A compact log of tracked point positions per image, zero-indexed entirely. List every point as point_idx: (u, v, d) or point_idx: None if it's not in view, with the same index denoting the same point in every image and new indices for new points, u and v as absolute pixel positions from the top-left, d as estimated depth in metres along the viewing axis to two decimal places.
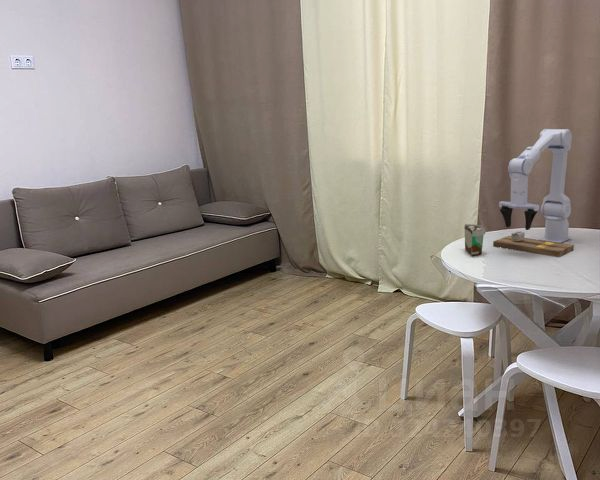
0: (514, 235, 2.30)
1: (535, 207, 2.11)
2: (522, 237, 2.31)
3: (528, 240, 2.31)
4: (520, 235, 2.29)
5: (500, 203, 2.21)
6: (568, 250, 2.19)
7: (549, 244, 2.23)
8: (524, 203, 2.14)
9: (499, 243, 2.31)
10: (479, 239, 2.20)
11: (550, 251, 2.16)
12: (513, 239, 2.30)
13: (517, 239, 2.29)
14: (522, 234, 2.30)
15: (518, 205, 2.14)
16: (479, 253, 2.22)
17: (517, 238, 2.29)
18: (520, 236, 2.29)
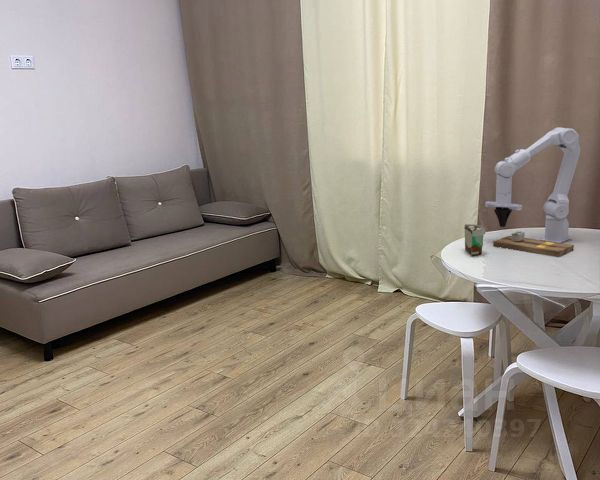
0: (514, 235, 2.30)
1: (518, 207, 2.27)
2: (522, 237, 2.31)
3: (528, 240, 2.31)
4: (520, 235, 2.29)
5: (486, 203, 2.37)
6: (568, 250, 2.19)
7: (549, 244, 2.23)
8: (508, 203, 2.30)
9: (499, 243, 2.31)
10: (479, 239, 2.20)
11: (550, 251, 2.16)
12: (513, 239, 2.30)
13: (517, 239, 2.29)
14: (522, 234, 2.30)
15: (502, 205, 2.30)
16: (479, 253, 2.22)
17: (517, 238, 2.29)
18: (520, 236, 2.29)
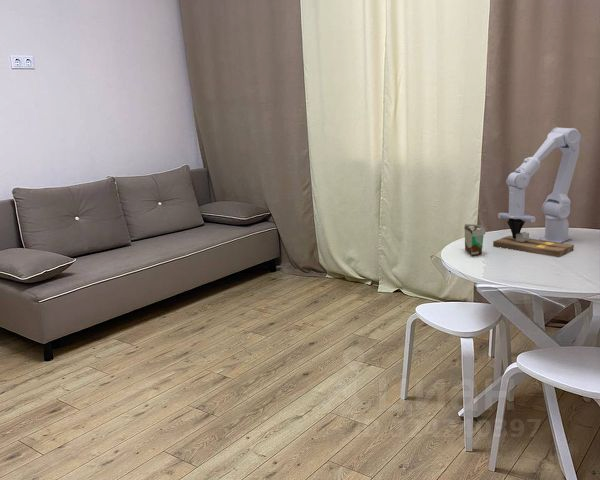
0: (519, 236, 2.28)
1: (532, 219, 2.24)
2: (527, 238, 2.29)
3: (528, 240, 2.31)
4: (524, 235, 2.28)
5: (499, 214, 2.34)
6: (568, 250, 2.19)
7: (549, 244, 2.23)
8: (521, 215, 2.27)
9: (499, 243, 2.31)
10: (479, 239, 2.20)
11: (550, 251, 2.16)
12: (518, 240, 2.29)
13: (522, 240, 2.28)
14: (527, 235, 2.29)
15: (516, 216, 2.27)
16: (479, 253, 2.22)
17: (521, 239, 2.28)
18: (524, 237, 2.28)
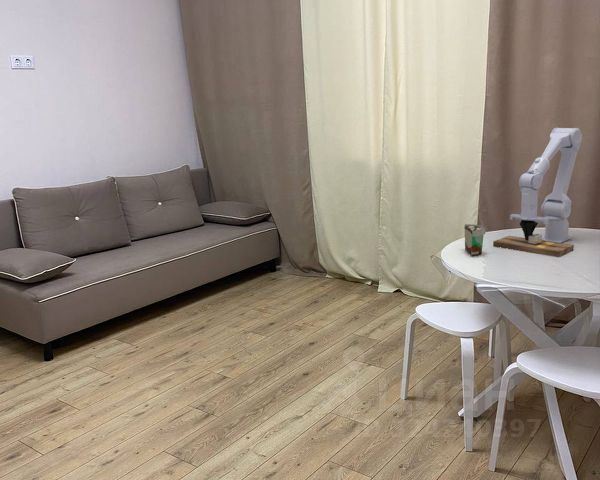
0: (531, 238, 2.25)
1: (545, 220, 2.21)
2: (539, 240, 2.25)
3: None
4: (537, 237, 2.24)
5: (511, 216, 2.30)
6: (568, 250, 2.19)
7: (549, 244, 2.23)
8: (534, 216, 2.23)
9: (499, 243, 2.31)
10: (479, 239, 2.20)
11: (550, 251, 2.16)
12: (530, 242, 2.25)
13: (534, 242, 2.24)
14: (539, 236, 2.25)
15: (528, 218, 2.23)
16: (479, 253, 2.22)
17: (534, 241, 2.24)
18: (537, 239, 2.24)
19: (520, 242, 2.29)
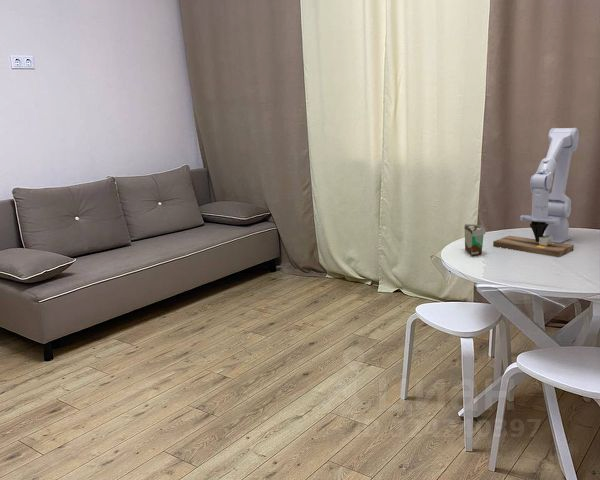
0: (542, 239, 2.22)
1: (556, 221, 2.17)
2: (550, 241, 2.22)
3: (528, 240, 2.31)
4: (548, 239, 2.21)
5: (521, 217, 2.27)
6: (568, 250, 2.19)
7: None
8: (545, 217, 2.20)
9: (499, 243, 2.31)
10: (479, 239, 2.20)
11: (550, 251, 2.16)
12: (541, 243, 2.22)
13: (545, 243, 2.21)
14: (550, 238, 2.22)
15: (539, 219, 2.20)
16: (479, 253, 2.22)
17: (545, 243, 2.21)
18: (548, 241, 2.21)
19: (520, 242, 2.29)
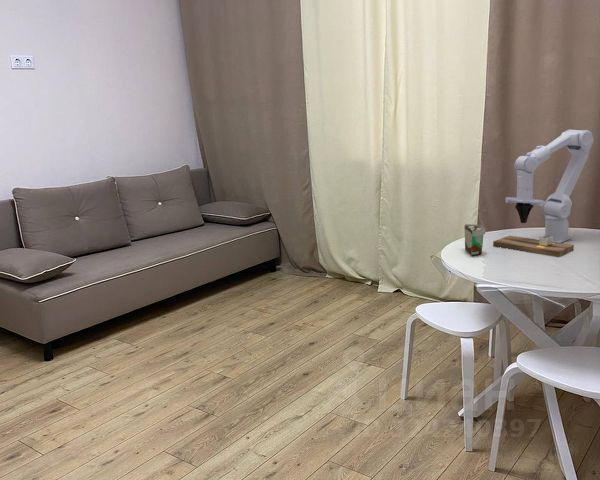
0: (542, 239, 2.21)
1: (540, 202, 2.23)
2: (550, 241, 2.22)
3: (528, 240, 2.31)
4: (548, 239, 2.21)
5: (506, 199, 2.32)
6: (568, 250, 2.19)
7: None
8: (530, 199, 2.25)
9: (499, 243, 2.31)
10: (479, 239, 2.20)
11: (550, 251, 2.16)
12: (541, 243, 2.22)
13: (545, 243, 2.21)
14: (551, 238, 2.22)
15: (524, 200, 2.25)
16: (479, 253, 2.22)
17: (545, 243, 2.21)
18: (548, 241, 2.21)
19: (520, 242, 2.29)
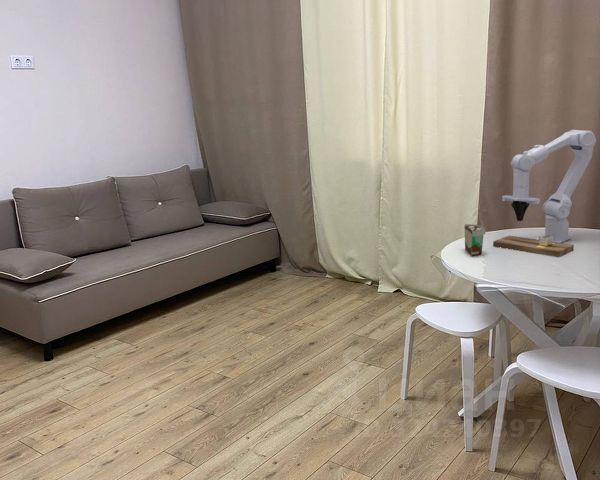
0: (542, 239, 2.21)
1: (536, 200, 2.25)
2: (550, 241, 2.22)
3: (528, 240, 2.31)
4: (548, 239, 2.21)
5: (503, 197, 2.35)
6: (568, 250, 2.19)
7: None
8: (526, 197, 2.28)
9: (499, 243, 2.31)
10: (479, 239, 2.20)
11: (550, 251, 2.16)
12: (541, 243, 2.22)
13: (545, 243, 2.21)
14: (551, 238, 2.22)
15: (520, 199, 2.28)
16: (479, 253, 2.22)
17: (545, 243, 2.21)
18: (548, 241, 2.21)
19: (520, 242, 2.29)
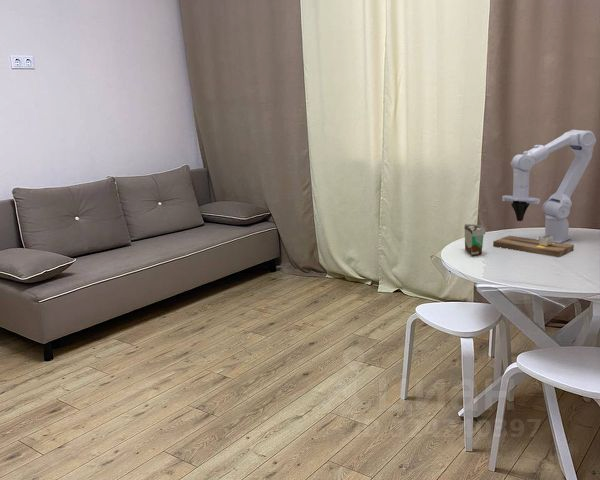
0: (542, 239, 2.21)
1: (536, 200, 2.25)
2: (550, 241, 2.22)
3: (528, 240, 2.31)
4: (548, 239, 2.21)
5: (503, 197, 2.35)
6: (568, 250, 2.19)
7: None
8: (526, 197, 2.28)
9: (499, 243, 2.31)
10: (479, 239, 2.20)
11: (550, 251, 2.16)
12: (541, 243, 2.22)
13: (545, 243, 2.21)
14: (551, 238, 2.22)
15: (520, 199, 2.28)
16: (479, 253, 2.22)
17: (545, 243, 2.21)
18: (548, 241, 2.21)
19: (520, 242, 2.29)
